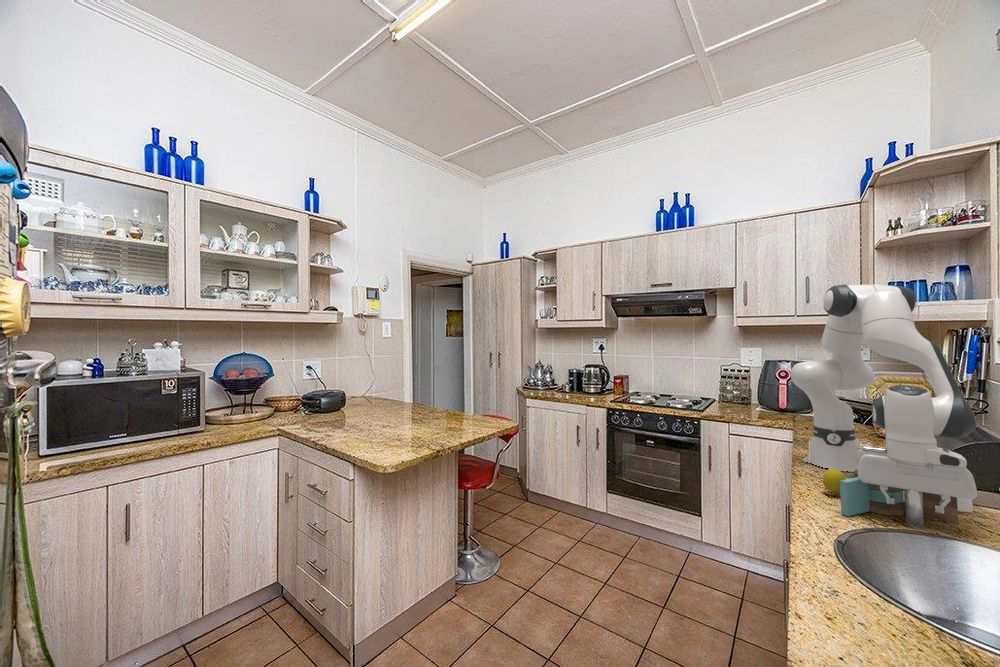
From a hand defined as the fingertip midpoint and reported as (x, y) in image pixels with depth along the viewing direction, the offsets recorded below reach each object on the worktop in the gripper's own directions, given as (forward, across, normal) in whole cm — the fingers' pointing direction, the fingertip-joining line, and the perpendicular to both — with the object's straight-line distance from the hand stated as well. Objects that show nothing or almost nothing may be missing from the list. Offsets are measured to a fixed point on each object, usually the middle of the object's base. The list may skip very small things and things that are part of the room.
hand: (914, 507), depth 96 cm
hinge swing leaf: (+4, -8, +4) cm, 10 cm away
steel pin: (+4, 0, 0) cm, 4 cm away
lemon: (+4, -15, +13) cm, 20 cm away
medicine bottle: (+4, +8, +21) cm, 23 cm away
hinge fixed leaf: (+4, -1, +8) cm, 9 cm away
